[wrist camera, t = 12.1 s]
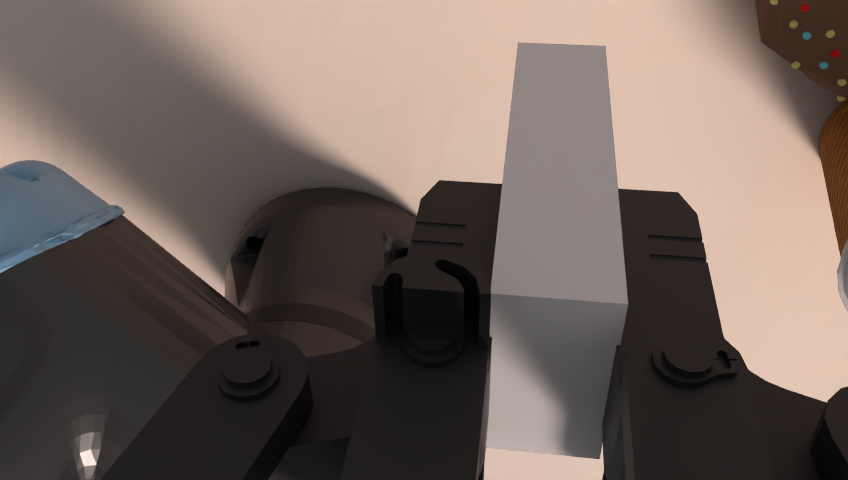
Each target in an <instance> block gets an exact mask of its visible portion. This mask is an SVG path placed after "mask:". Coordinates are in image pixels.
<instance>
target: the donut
mask: <svg viewBox="0 0 848 480" xmlns="http://www.w3.org/2000/svg"><path fill="white" fill-rule="evenodd" d="M755 1H756V8H757V16H758V23H759V31H760V38H761V42H762V43H764V44H765V45H766V46H768V47H769V48H770V49H772V50H773V51H775V52H776V53H777V54H779V55H780V56H781V57H783V58H784V59H786V60H787V61H789V62H790V63H791V64H792V65H791V67H793V68H794V69H798V68H799V69H800V70H802V71H803V72H804V74H805V75H806V76H807V77H808V78H809V79H810V80H812V81H814V82H815V83H817V84H818V85H820V86H822V87H823V88H825V89H828V90H831V91H833V92H835V93H836V94H838V97H837V99H838V101H841V102H843V101H847V102H848V0H755Z"/></svg>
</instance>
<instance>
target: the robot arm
mask: <svg viewBox="0 0 848 480" xmlns="http://www.w3.org/2000/svg"><path fill="white" fill-rule="evenodd" d="M124 213H125V211H124V210H123V209H122V208H121V207H119V206H114V205H109V204H108V203H106V202H105V201H104V200H102V199H101V198H99V197H98V196H97V195H95V194H94V193H92V192H91V191H90V190H88V189H87V188H86V187H84V186H83V185H82V184H80V183H79V182H78V181H76V180H75V179H73V178H72V177H71V176H69V175H68V174H67V173H65V172H64V171H63V170H61V169H59V168H58V167H56V166H54V165H52V164H49V163H46V162H42V161H35V160H26V161H19V162H15V163H12V164H9V165H6V166H4V167H2V168H0V480H484V460H485V449H486V448H495V449H505V450H515V451H525V452H535V453H545V454H554V455H564V456H574V457H584V458H594V459H600V453H601V448H602V443H603V458H604V474H603V479H602V480H848V387H844V388H841V389H840V390H839V391H838V392H837V393H835V394H834V395H833V396H832V397H831V398H830V399H829V400H828V402H827V403H826V402H823V401H820V400H817V399H814V398H811V397H808V396H805V395H802V394H799V393H795V392H792V391H789V390H786V389H784V388H781V387H779V386H777V385H774V384H772V383H769V382H767V381H765V380H764V379H762V378H760V377H759V376H757V375H755V374H754V373H752V372H751V371H749V370H748V368H747V366H746V364H745V362H744V360H743V358H742V356H741V354H740V353H739V352H738V351H737V350H736V349H735V348H734V347H733V346H732V345H731V344H730V343H729V342H727V341H726V340H725V339H724V336H723V332H722V328H721V323H720V318H719V314H718V309H717V304H716V300H715V295H714V290H713V286H712V281H711V276H710V272H709V267H708V263H706V253H705V248H704V244H703V243H702V234H701V230H700V225H699V220H698V216H697V213H696V212H695V211H694V210H693V209H692V208H691V207H690V205H689V204H688V203H687V202H686V201H685V200H684V199H683V197H682V196H681V195H680V194H679V193H678V192H663V191H646V190H630V189H618V183H617V172H616V161H615V149H614V138H613V127H612V115H611V104H610V92H609V81H608V70H607V58H606V47H605V46H592V45H566V44H540V43H518V48H517V57H516V66H515V75H514V84H513V93H512V102H511V111H510V120H509V129H508V138H507V147H506V156H505V165H504V174H503V183H502V184H491V183H475V182H458V181H442V180H439V181H438V182H437V183H436V184H435V185H434V186H433V187H432V188H431V189H430V190H429V191H428V192H427V193H426V195H425V196H424V197H423V198H422V199H421V201H420V205H419V209H418V213H417V218H415V217H414V216H412V215H411V214H409V213H408V212H406V211H405V210H403V209H401V208H400V207H398V206H396V205H394V204H392V203H390V202H388V201H385V200H383V199H380V198H378V197H375V196H372V195H368V194H365V193H361V192H357V191H351V190H345V189H335V188H318V189H308V190H302V191H298V192H293V193H290V194H287V195H284V196H282V197H279V198H277V199H275V200H273V201H271V202H269V203H268V204H266V205H265V206H263V207H262V208H261V209H259V210H258V211H257V212H256V213H255V214H254V215H253V216H252V217H251V218H250V219H249V221H248V222H247V223H246V225H245V226H244V228H243V230H242V232H241V234H240V236H239V238H238V239H237V241H236V243H235V245H234V247H233V249H232V252H231V254H230V257H229V260H228V264H227V269H226V278H225V298H224V297H223V296H222V295H221V294H219V293H218V292H217V291H216V290H214V289H213V288H212V287H211V286H209V285H208V284H207V283H206V282H205V281H203V280H202V279H201V278H200V277H198V276H197V275H196V274H195V273H193V272H192V271H191V270H190V269H189V268H187V267H186V266H185V265H184V264H182V263H181V262H180V261H179V260H177V259H176V258H175V257H174V256H172V255H171V254H170V253H169V252H168V251H166V250H165V249H164V248H163V247H161V246H160V245H159V244H158V243H156V242H155V241H154V240H153V239H152V238H150V237H149V236H148V235H147V234H145V233H144V232H143V231H142V230H140V229H139V228H138V227H137V226H135V225H134V224H133V223H132V222H131V221H129V220H128V219H127V218H126V217H124V216H123V215H122V214H124Z"/></svg>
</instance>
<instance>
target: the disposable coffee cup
mask: <svg viewBox="0 0 848 480" xmlns="http://www.w3.org/2000/svg"><path fill="white" fill-rule="evenodd" d="M819 153H820V158H821V162H822V167H823V172H824V177H825V182H826V187H827V192H828V197H829V202H830V207H831V212H832V217H833V221H834V228H835V232H836V237H837V241H838V246H839V251H840V256H841V260H840V263H839V267H838V270H837V273H838V290H839V295H840V297H841V299H842V302H843V304H844V306H845V308H846V310H847V311H848V102H847V101H845V102H844V103H842V104H841V105H840V106H839V107H838V108H837V109H836V110H835V111H834V112H833V113H832V114H831V116H830V117H829V118H828V120H827V121H826V123H825V125H824V127H823V129H822V132H821V135H820V138H819Z"/></svg>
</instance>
